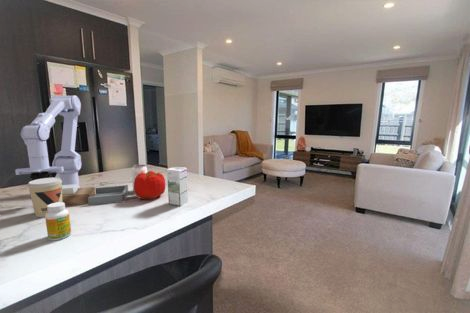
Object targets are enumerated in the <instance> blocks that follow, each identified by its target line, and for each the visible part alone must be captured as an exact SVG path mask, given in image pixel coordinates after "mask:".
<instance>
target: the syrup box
mask: <svg viewBox="0 0 470 313" xmlns="http://www.w3.org/2000/svg"><path fill="white" fill-rule="evenodd" d="M187 170H188V168H187V167H184V166H183V167H181V166H173V167H169V168H168V169H166V173H167V174H166V177H167V180H166V181H167V190H168V191H167V194H168V196H167V197H168V205H171V206H177V207H182V206H184V205H185V204H186V203H188V202H189V199H188V198H189V196H188V172H187ZM187 201H188V202H187ZM184 203H185V204H184Z"/></svg>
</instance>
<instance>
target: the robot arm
mask: <svg viewBox="0 0 470 313" xmlns="http://www.w3.org/2000/svg"><path fill="white" fill-rule="evenodd" d="M49 102H50V105H49V106H48V107H47V108H46V110H45V112H39V113H38V114H37V116H36V117H35V118H34V120H32V122H31V123H30V124H29V125H25V126H23V127H22V129H21V132H20V136H21V138H22V140H23V142H24V145H25V146H26V150H27V156H28V163H29V164H28V165H29V167H25V168H16V169H15V175H16V176H19V175H29V174H30V175H29V178H30V179H32V180H31V181H33V180H37V179H42V178H51V175H52V173H56V175H55V178H60V179H61V180H62V185H72V184H77V187H78V188H83V186H81V187H80V181H79V171H80V170H81V168H82V164H83V163H82V155H81V154H79V153H78V152H77V151H75V150H76V141H77V140H76V139H77V131H78V129H77V127H78V116H80V115H81V108H82V103H81V101H80V98H79V96H77V95H75V94H74V95H58V94H57V95H56V94H53V95H51V97H50V98H49ZM58 115H59V116H62V117H63V126H62V127H63V129H62V136H61V137H62V138H61V148H60V151H58V152H57V153H55V154H54V159H53V160H52V164H51V165H52V166H50V161H49V154H48V153H49V152H48V145H47V140H48V139H49V138H50V132H51V128H52V127H53V126H54V125H55V123H56V119H55V118H56V117H57V116H58Z"/></svg>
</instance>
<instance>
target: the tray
mask: <svg viewBox="0 0 470 313" xmlns="http://www.w3.org/2000/svg"><path fill="white" fill-rule="evenodd" d="M128 193H129V185H128V184H123V185H113V186H101V187H99V186H98V187H95V196H94V197H88V202H89V204H88V205H89V206H96V205H102V204H103V205H104V204H111V203H112V204H113V203H121V202H126V200H127V197H128Z"/></svg>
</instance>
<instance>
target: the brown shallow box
mask: <svg viewBox="0 0 470 313" xmlns="http://www.w3.org/2000/svg"><path fill="white" fill-rule="evenodd" d="M95 188H96V186H88V187H82V188H78V190H77V191H76V192H75V193H74V194H64V195H62V202H64V203H65V207H68V206H77V205H87V204H88V205H89V202H88V197H94V196H95V194H96V190H95Z"/></svg>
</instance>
